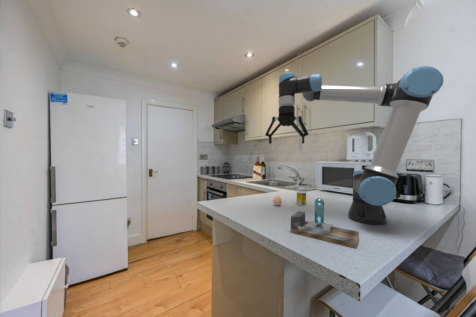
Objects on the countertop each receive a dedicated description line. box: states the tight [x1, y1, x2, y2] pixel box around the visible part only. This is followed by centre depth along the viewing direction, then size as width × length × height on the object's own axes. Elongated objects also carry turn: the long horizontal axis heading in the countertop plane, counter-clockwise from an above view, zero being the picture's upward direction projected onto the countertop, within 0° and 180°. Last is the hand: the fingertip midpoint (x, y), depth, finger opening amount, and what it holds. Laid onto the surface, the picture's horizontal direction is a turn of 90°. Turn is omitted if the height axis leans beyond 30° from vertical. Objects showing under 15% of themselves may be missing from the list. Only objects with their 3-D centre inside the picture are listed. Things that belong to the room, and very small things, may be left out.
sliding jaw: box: [306, 197, 333, 233], centre depth 73 cm, size 8×7×12 cm
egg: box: [272, 195, 283, 207], centre depth 117 cm, size 5×5×6 cm
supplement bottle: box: [296, 187, 307, 206], centre depth 120 cm, size 6×6×10 cm
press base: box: [290, 210, 360, 249], centre depth 73 cm, size 22×8×6 cm, turn 54°
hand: (286, 150), depth 94 cm, fingers open, 13 cm apart
